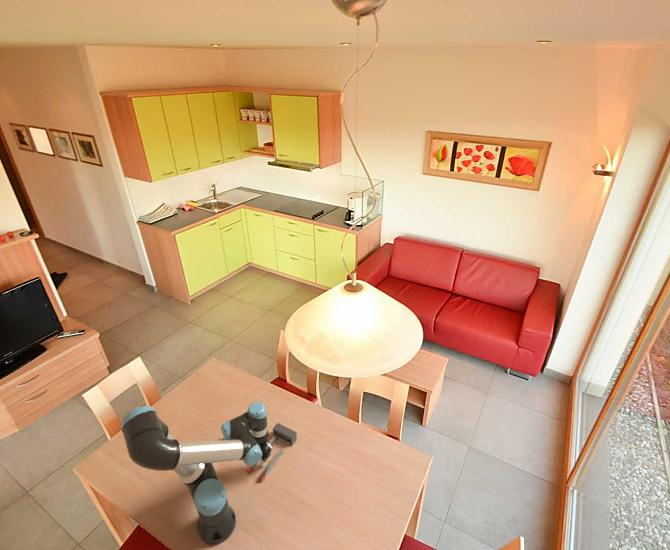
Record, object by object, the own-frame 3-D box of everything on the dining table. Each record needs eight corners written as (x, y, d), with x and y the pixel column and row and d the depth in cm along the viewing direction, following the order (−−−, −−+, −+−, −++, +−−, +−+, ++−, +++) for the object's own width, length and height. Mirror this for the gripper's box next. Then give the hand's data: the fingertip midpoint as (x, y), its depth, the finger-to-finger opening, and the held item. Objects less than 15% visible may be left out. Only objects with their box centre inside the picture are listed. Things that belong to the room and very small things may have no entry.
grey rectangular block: (278, 430, 203) (277, 422, 201) (296, 439, 199) (296, 432, 196) (273, 435, 200) (272, 428, 198) (292, 445, 196) (291, 438, 193)
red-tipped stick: (281, 451, 192) (280, 448, 191) (283, 453, 192) (283, 450, 191) (259, 480, 179) (259, 477, 178) (261, 481, 179) (261, 478, 178)
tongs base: (281, 430, 204) (280, 426, 202) (295, 437, 200) (295, 433, 199) (246, 473, 183) (246, 469, 181) (262, 482, 179) (261, 478, 178)
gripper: (276, 431, 174) (279, 463, 186) (253, 419, 179) (257, 452, 191) (266, 443, 168) (269, 476, 180) (242, 431, 174) (247, 464, 185)
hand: (263, 464), depth 186 cm, fingers closed
